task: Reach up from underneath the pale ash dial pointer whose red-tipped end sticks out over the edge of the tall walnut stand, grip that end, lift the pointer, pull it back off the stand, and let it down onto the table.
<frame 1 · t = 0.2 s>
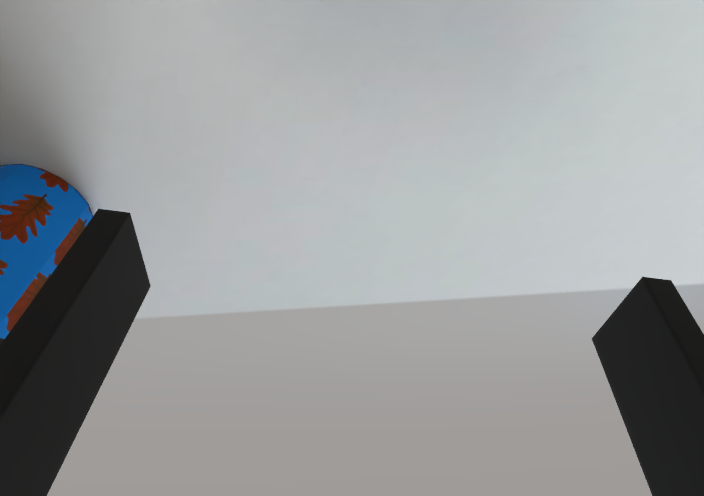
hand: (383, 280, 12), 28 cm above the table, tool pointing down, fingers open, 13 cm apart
thermos: (42, 204, 49), on the table
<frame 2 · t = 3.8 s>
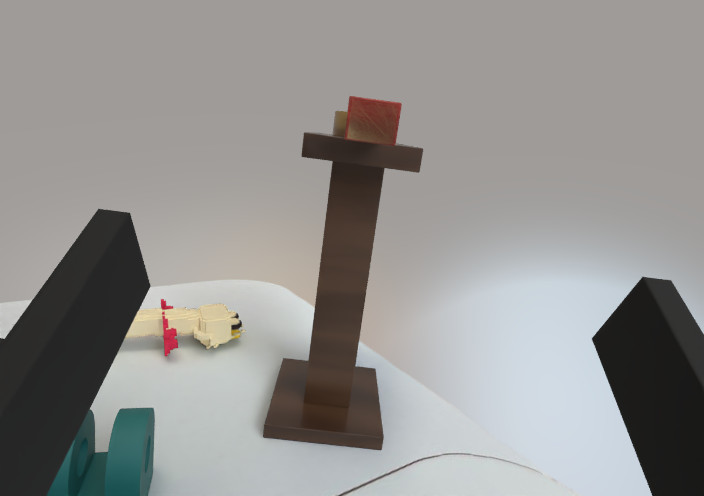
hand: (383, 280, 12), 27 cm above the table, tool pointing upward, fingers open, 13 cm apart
pointer: (363, 140, 40), point 30 cm above the table, touching stand
stand: (325, 404, 53), on the table
cream toy animal figure: (146, 348, 60), on the table
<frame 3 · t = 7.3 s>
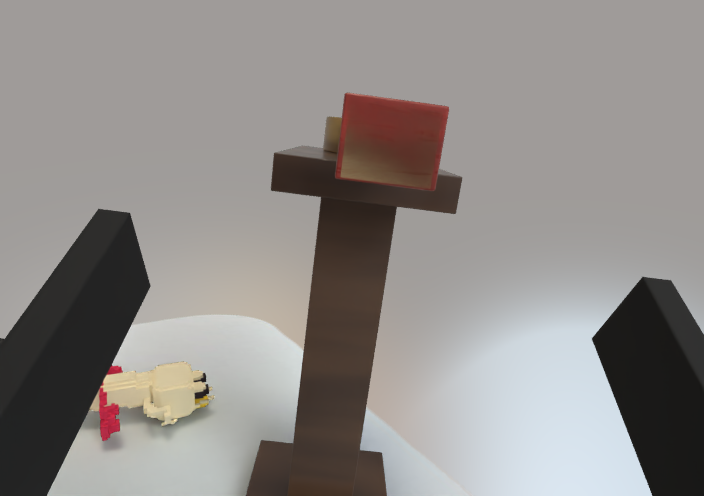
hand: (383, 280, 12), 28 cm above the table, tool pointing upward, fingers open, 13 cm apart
pointer: (367, 162, 26), point 30 cm above the table, touching stand
cream toy animal figure: (82, 426, 46), on the table
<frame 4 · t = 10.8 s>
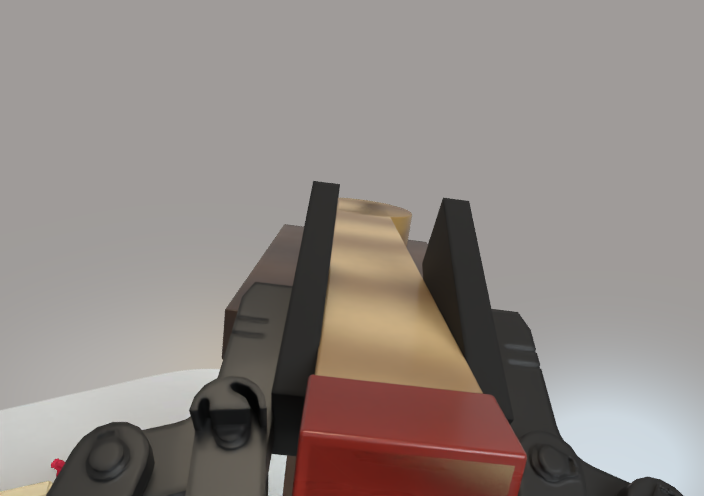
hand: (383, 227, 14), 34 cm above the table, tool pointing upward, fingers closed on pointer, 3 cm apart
pointer: (362, 305, 19), point 30 cm above the table, touching gripper, stand
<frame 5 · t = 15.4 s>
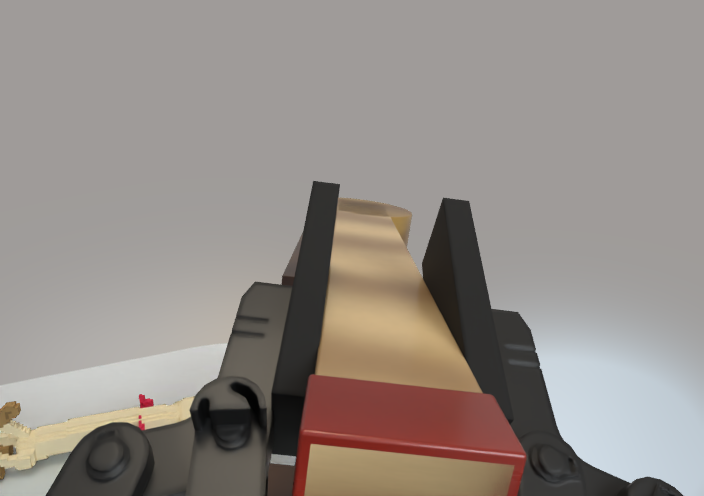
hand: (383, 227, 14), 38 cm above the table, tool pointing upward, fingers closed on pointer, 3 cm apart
pointer: (362, 305, 19), point 34 cm above the table, touching gripper
cream toy animal figure: (122, 450, 56), on the table
when the fingers open (23 cm above the table, at t = 20.3 s): pointer drops 19 cm, on the table.
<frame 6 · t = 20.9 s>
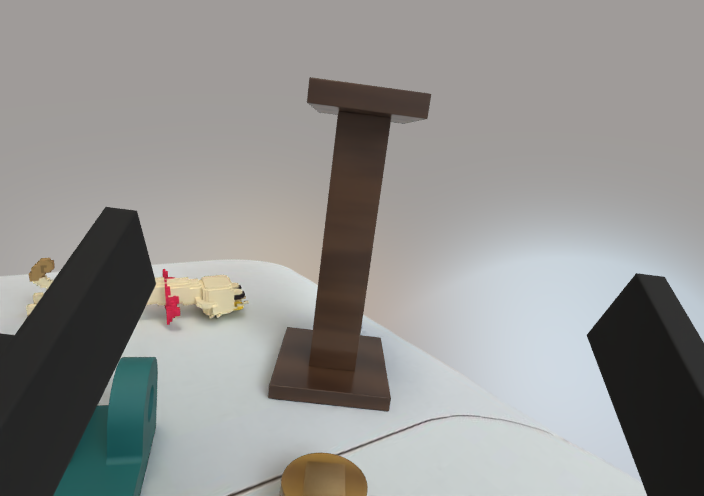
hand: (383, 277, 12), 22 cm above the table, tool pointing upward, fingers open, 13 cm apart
stand: (330, 369, 52), on the table
cream toy animal figure: (148, 318, 60), on the table
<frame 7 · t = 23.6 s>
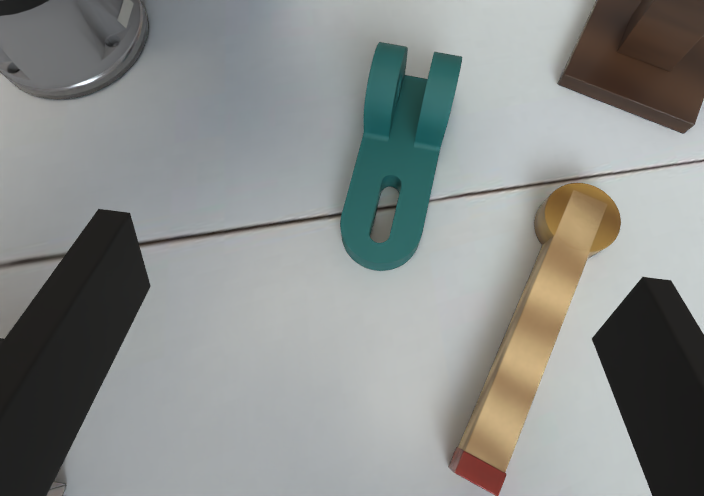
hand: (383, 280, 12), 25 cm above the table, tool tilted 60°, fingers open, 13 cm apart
bracket: (394, 176, 42), on the table
pointer: (527, 331, 37), on the table
stand: (641, 53, 45), on the table
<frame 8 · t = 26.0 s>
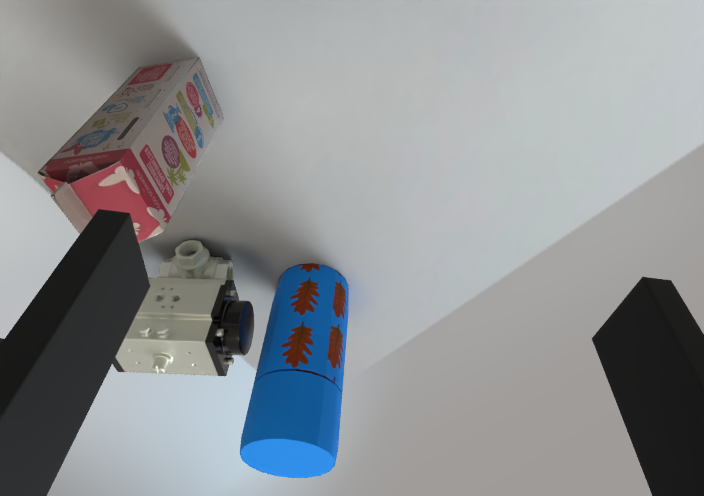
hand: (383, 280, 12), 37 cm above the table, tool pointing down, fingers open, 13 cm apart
juice carton: (183, 93, 49), on the table
ball valve: (201, 257, 66), on the table
thermos: (313, 287, 69), on the table
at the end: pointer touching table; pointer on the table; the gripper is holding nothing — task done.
